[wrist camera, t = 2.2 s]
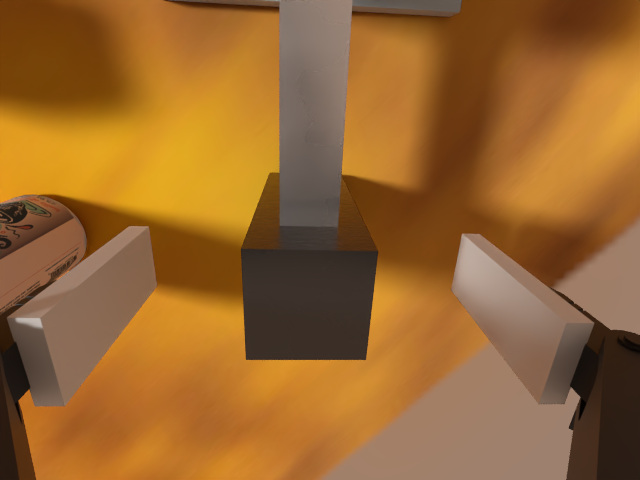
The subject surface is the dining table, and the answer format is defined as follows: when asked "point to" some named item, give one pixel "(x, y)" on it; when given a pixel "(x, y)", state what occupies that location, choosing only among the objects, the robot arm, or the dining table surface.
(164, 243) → the dining table surface
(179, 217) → the dining table surface
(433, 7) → the bearing block
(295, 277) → the shaft
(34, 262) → the beer can
